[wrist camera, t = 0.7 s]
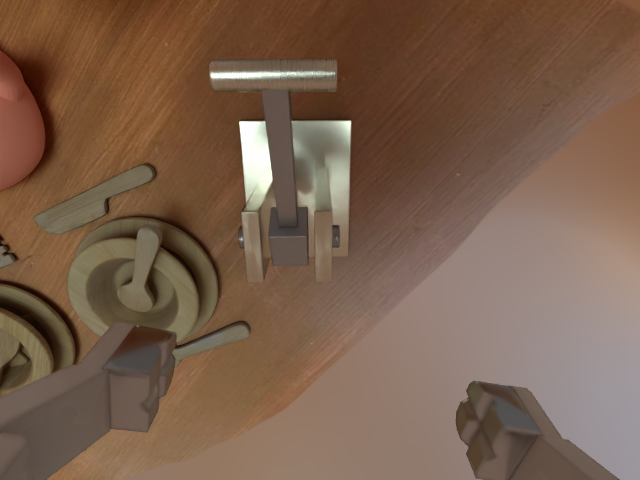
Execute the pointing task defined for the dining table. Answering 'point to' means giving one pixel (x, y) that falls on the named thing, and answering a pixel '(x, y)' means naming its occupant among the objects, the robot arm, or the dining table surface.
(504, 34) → the dining table surface
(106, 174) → the dining table surface
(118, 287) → the tableware set
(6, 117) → the teapot
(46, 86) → the dining table surface
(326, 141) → the metal lever stand
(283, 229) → the lever
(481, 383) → the robot arm
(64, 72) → the dining table surface
